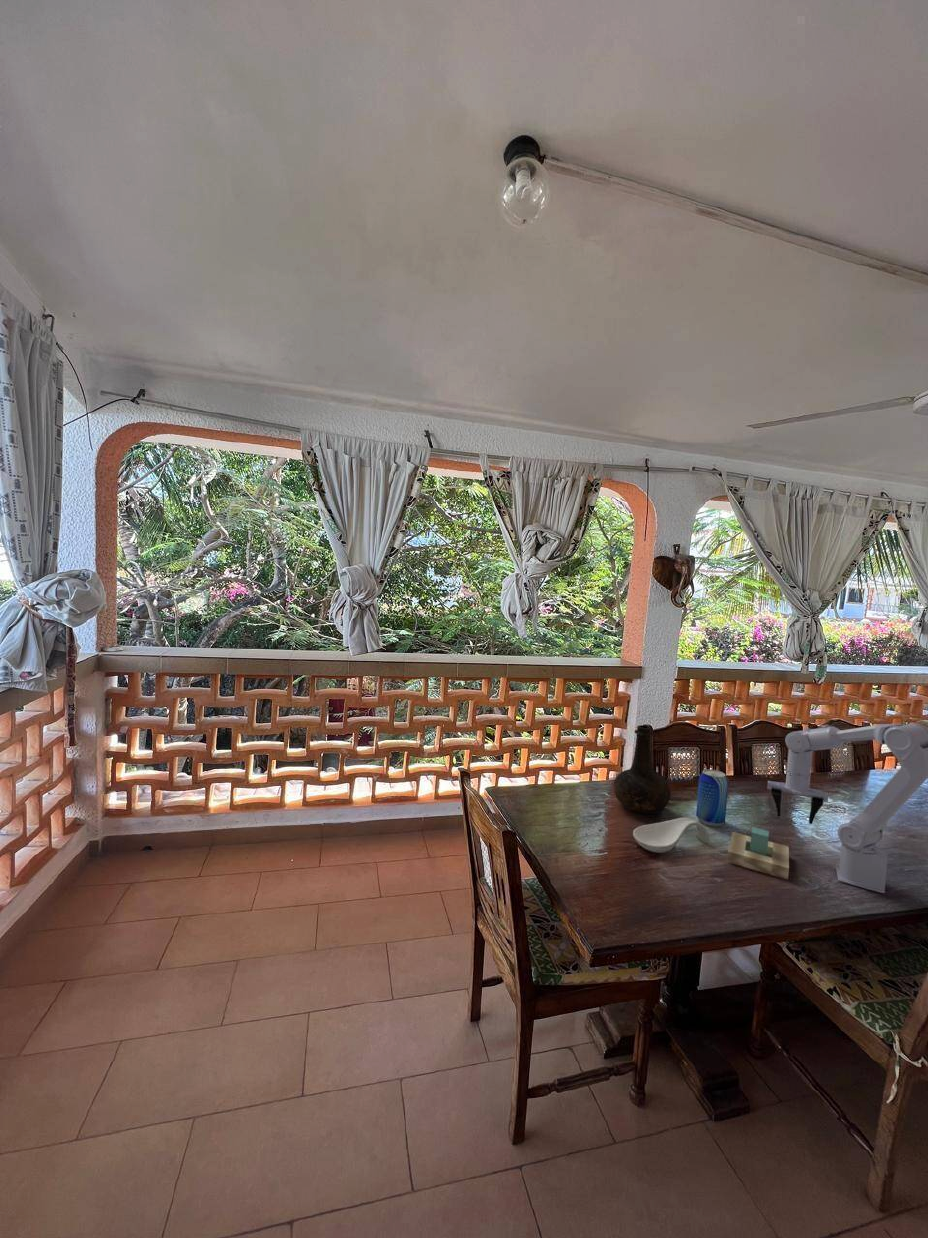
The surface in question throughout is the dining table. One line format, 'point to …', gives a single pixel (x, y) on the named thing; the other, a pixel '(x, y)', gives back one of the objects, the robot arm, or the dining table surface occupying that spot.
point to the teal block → (759, 841)
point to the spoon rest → (667, 834)
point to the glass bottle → (642, 780)
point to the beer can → (712, 798)
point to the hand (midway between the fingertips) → (794, 819)
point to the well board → (759, 856)
